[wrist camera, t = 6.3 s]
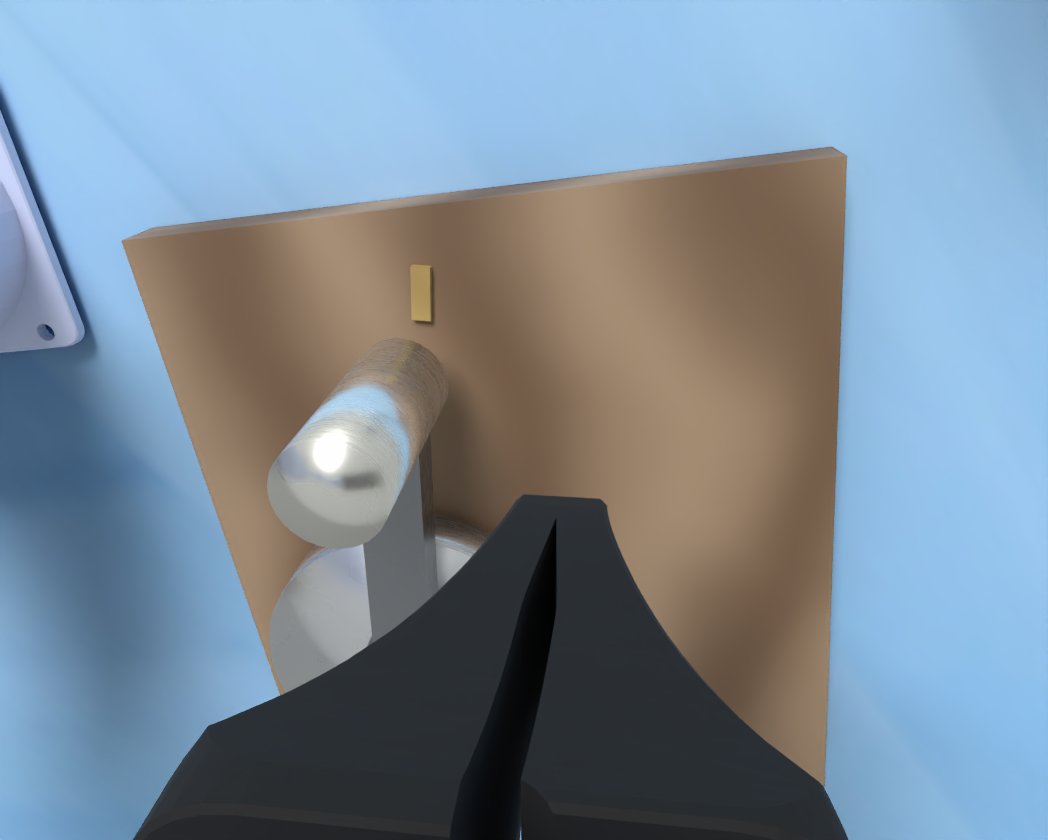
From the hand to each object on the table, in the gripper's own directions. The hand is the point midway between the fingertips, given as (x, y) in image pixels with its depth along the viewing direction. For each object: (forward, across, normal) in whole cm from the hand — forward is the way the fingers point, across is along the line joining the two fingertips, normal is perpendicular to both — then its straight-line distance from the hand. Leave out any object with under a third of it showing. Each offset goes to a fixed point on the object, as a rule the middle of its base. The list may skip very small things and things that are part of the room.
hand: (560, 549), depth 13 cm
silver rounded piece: (+9, +5, +7) cm, 12 cm away
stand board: (+10, +2, +6) cm, 12 cm away
